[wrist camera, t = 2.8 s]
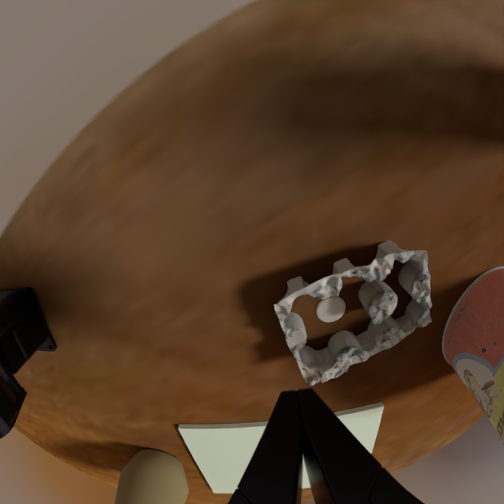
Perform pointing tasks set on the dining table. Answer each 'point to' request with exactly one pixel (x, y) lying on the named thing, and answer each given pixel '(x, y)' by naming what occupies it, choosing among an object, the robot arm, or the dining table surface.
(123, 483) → the tan nozzle bottle
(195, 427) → the mat
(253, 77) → the dining table surface
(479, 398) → the canned food
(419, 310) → the egg carton
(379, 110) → the dining table surface
